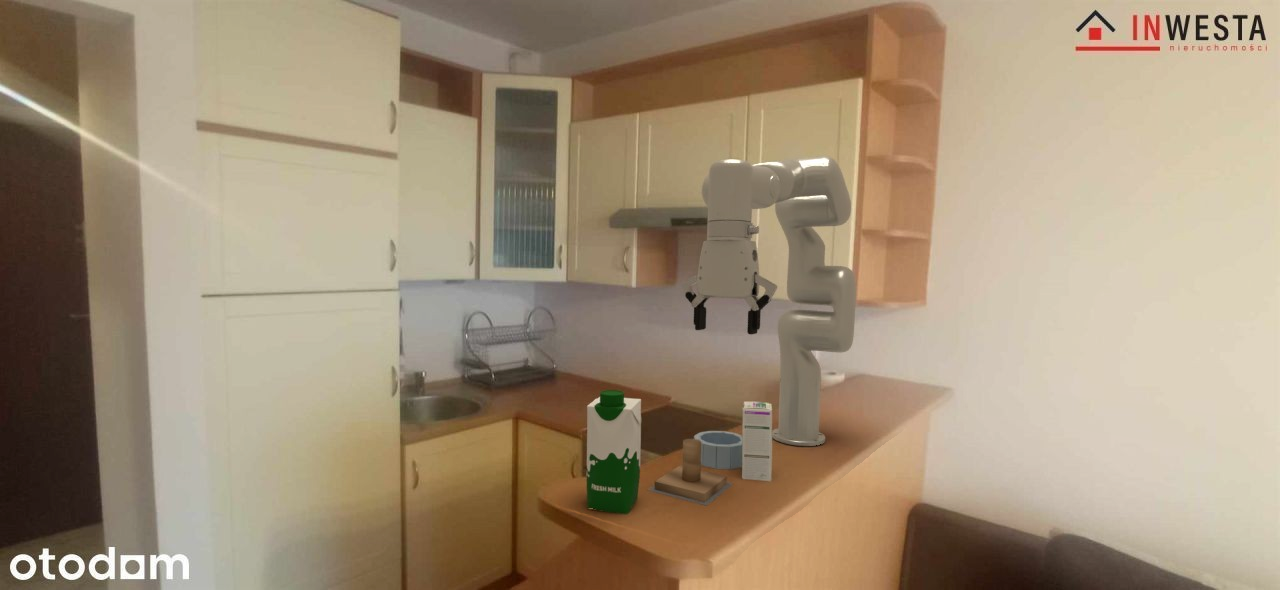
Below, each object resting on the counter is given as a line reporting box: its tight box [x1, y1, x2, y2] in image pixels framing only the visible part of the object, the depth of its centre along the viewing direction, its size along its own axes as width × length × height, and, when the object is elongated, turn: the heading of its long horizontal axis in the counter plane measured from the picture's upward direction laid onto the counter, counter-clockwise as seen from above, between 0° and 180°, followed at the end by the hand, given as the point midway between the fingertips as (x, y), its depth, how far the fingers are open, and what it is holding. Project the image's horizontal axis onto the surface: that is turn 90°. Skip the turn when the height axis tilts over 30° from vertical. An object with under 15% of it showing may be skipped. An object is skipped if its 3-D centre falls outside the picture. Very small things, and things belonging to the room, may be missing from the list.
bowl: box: [693, 430, 742, 470], centre depth 119 cm, size 11×11×5 cm
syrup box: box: [741, 400, 773, 482], centre depth 110 cm, size 6×6×14 cm
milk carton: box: [586, 389, 642, 515], centre depth 96 cm, size 9×9×20 cm
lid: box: [654, 438, 728, 502], centre depth 104 cm, size 10×10×8 cm
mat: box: [647, 481, 734, 507], centre depth 104 cm, size 12×12×1 cm
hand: (725, 331), depth 97 cm, fingers open, 9 cm apart
